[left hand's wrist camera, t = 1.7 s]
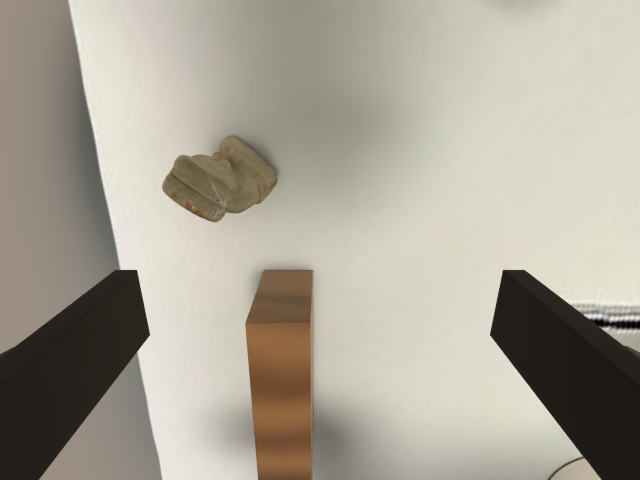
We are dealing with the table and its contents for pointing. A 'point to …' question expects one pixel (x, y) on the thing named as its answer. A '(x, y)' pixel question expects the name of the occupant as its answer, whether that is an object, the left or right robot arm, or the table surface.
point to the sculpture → (220, 180)
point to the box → (282, 374)
